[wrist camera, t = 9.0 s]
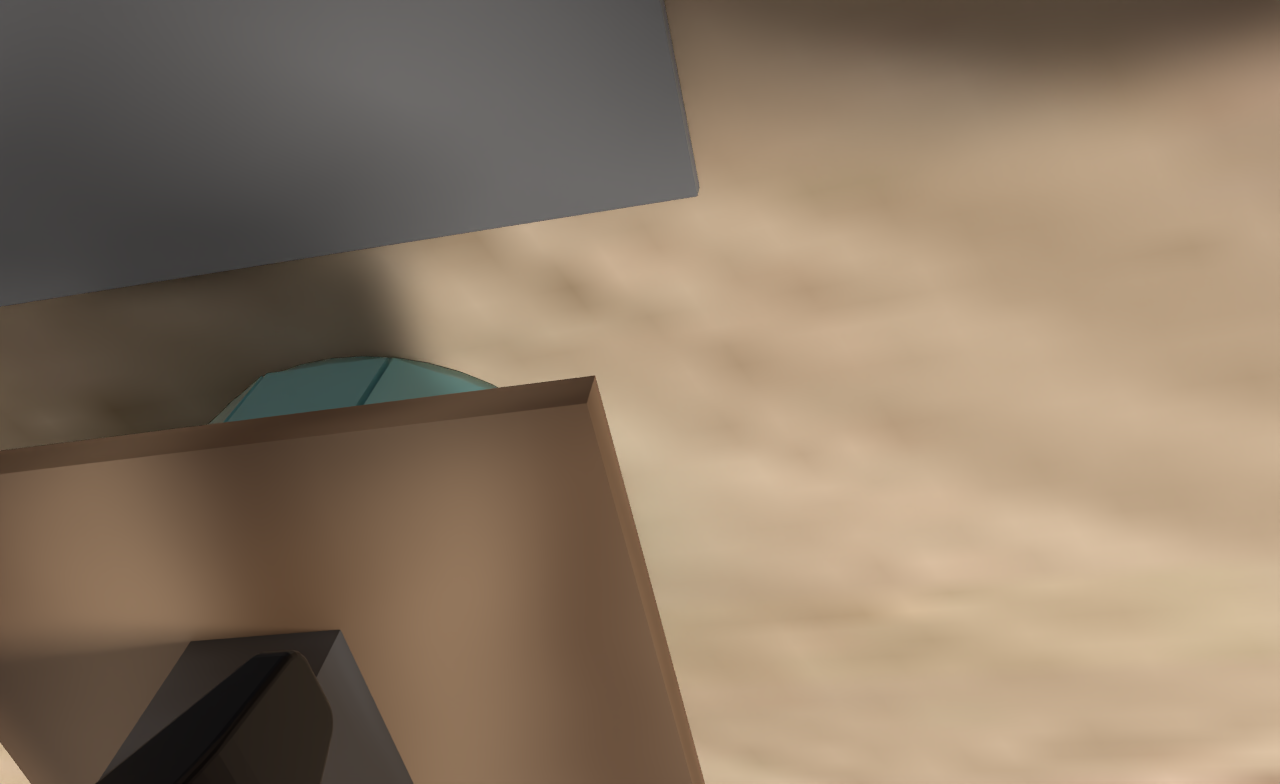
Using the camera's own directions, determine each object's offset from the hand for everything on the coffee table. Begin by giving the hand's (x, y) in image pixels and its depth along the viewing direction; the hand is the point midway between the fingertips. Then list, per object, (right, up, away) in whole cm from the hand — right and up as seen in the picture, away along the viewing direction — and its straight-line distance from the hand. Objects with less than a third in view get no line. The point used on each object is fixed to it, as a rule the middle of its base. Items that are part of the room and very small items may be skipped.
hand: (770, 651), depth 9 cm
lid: (-7, -4, +12) cm, 14 cm away
